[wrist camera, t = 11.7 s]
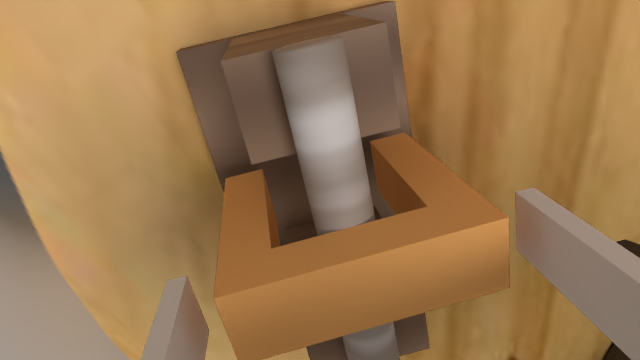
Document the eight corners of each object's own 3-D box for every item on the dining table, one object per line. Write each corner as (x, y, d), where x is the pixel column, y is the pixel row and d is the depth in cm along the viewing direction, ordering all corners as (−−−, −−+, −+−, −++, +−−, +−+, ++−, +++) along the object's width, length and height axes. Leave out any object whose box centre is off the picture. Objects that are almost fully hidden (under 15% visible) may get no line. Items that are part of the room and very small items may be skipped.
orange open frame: (411, 180, 24) (509, 287, 15) (241, 225, 24) (239, 365, 15) (404, 132, 23) (508, 217, 14) (225, 178, 23) (213, 299, 13)
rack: (417, 234, 31) (508, 366, 20) (256, 275, 30) (258, 436, 19) (386, 0, 24) (498, 4, 13) (180, 48, 24) (116, 94, 13)
